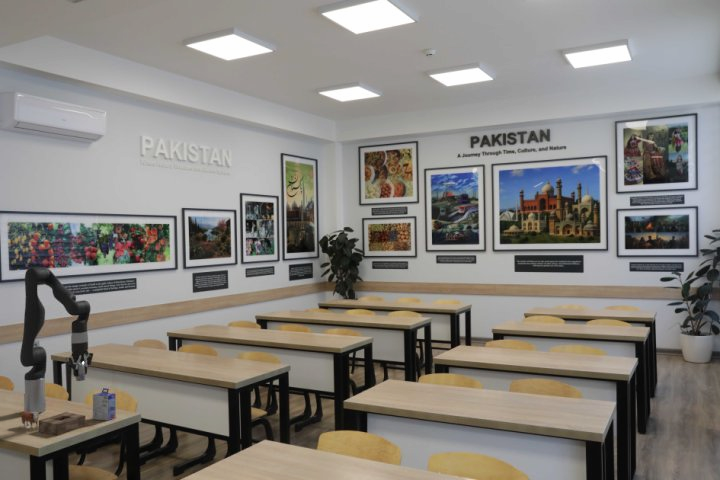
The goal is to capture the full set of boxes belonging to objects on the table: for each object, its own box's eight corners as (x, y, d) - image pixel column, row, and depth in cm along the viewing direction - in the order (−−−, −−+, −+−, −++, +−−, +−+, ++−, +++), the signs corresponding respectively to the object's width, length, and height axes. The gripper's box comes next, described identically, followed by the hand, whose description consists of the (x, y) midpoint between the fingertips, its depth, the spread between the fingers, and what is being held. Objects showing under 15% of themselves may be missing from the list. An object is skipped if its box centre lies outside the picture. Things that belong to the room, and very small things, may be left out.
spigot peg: (74, 380, 283) (73, 362, 283) (81, 378, 287) (81, 360, 287) (79, 381, 281) (79, 363, 281) (86, 379, 285) (86, 361, 285)
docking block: (38, 431, 265) (38, 420, 265) (66, 422, 277) (66, 412, 277) (58, 435, 258) (57, 424, 258) (85, 426, 271) (85, 415, 271)
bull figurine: (34, 431, 265) (34, 413, 265) (19, 426, 272) (18, 409, 272) (43, 428, 269) (43, 411, 269) (28, 423, 276) (28, 407, 276)
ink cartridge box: (116, 417, 283) (116, 388, 283) (108, 421, 278) (107, 391, 278) (100, 416, 286) (100, 387, 286) (92, 419, 281) (91, 390, 281)
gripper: (87, 338, 292) (87, 371, 292) (61, 343, 280) (62, 378, 280) (97, 339, 289) (97, 373, 289) (71, 344, 276) (72, 379, 276)
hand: (80, 375), depth 284 cm, fingers closed on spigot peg, 4 cm apart
